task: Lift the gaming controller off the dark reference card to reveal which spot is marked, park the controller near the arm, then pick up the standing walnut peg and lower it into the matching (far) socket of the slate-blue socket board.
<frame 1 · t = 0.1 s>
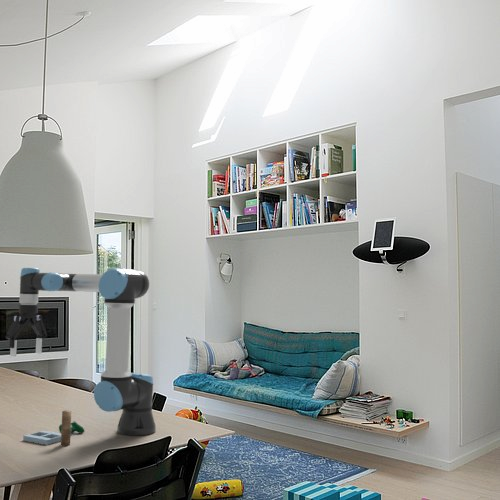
hand: (26, 354, 261), 28 cm above the table, fingers open, 13 cm apart
reference card: (70, 434, 240), on the table
socket board: (45, 440, 230), on the table
peg: (65, 444, 224), on the table
gaming controller: (70, 434, 240), resting on reference card
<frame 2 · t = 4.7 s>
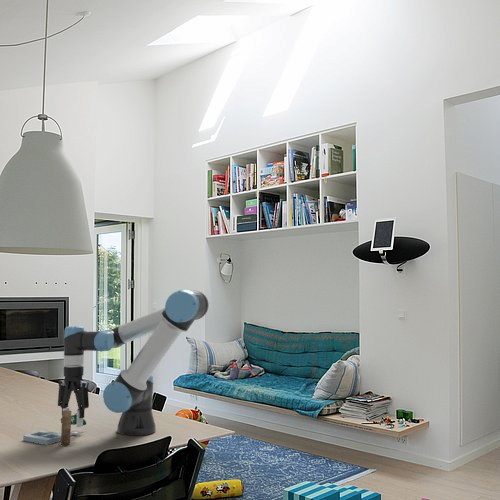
hand: (72, 425, 240), 3 cm above the table, fingers closed on gaming controller, 6 cm apart
gaming controller: (72, 426, 240), point 3 cm above the table, touching gripper
everything else where it was.
when the fingers open (0 cm above the table, at t = 8.3 s): gaming controller stays where it is, on the table.
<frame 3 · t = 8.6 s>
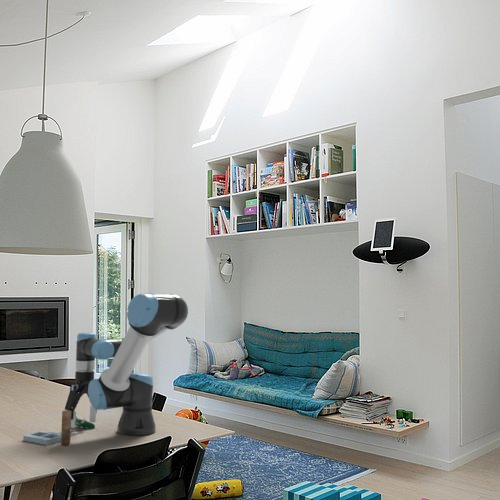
hand: (82, 424, 252), 1 cm above the table, fingers open, 11 cm apart
gaming controller: (82, 428, 252), on the table
everything else where it was.
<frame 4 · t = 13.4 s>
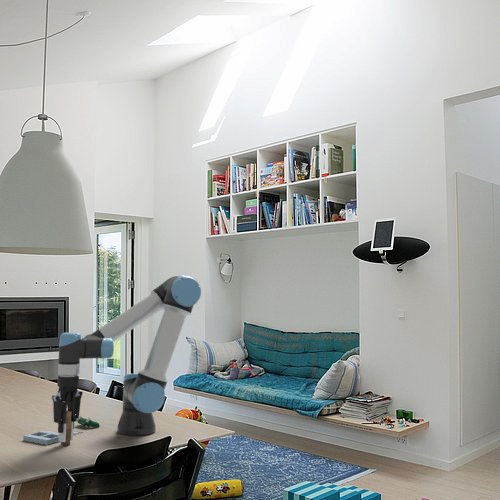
hand: (65, 440, 224), 2 cm above the table, fingers closed on peg, 3 cm apart
peg: (65, 444, 224), on the table, touching gripper
gaming controller: (87, 427, 254), on the table
when the fingers open (3 cm above the table, at t = 18.3 s): peg stays where it is, resting in socket board.
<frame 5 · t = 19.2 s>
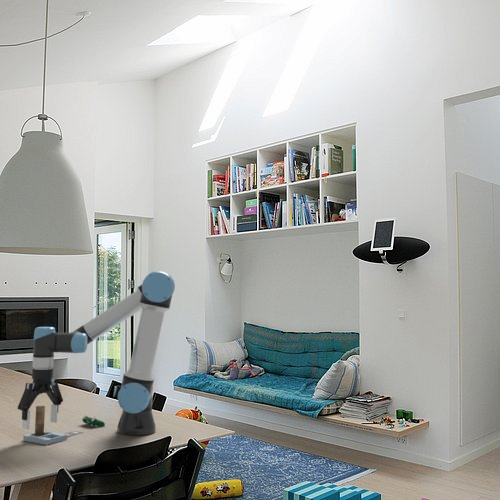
hand: (40, 425, 232), 5 cm above the table, fingers open, 13 cm apart
peg: (39, 438, 232), resting in socket board
gaming controller: (92, 426, 256), on the table
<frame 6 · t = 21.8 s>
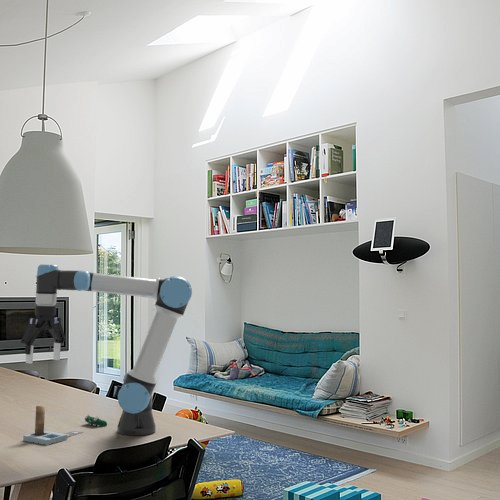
hand: (43, 361, 233), 29 cm above the table, fingers open, 13 cm apart
gaming controller: (94, 426, 257), on the table
everything else where it was.
at the end: peg 0.2 cm from the target spot on the socket board, point 0.0 cm above the socket board's base; peg tilted 0°; gaming controller moved 17.7 cm from its start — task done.
